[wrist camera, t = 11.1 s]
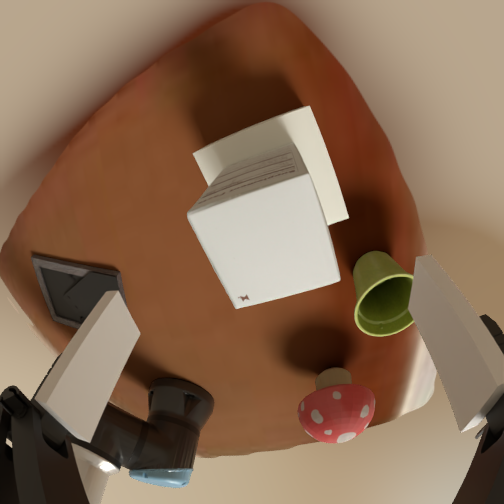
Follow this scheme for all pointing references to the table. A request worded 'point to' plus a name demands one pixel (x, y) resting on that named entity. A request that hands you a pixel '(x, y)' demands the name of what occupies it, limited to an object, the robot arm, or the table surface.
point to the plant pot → (381, 295)
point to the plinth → (275, 136)
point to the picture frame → (73, 288)
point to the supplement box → (265, 229)
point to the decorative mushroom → (336, 407)
